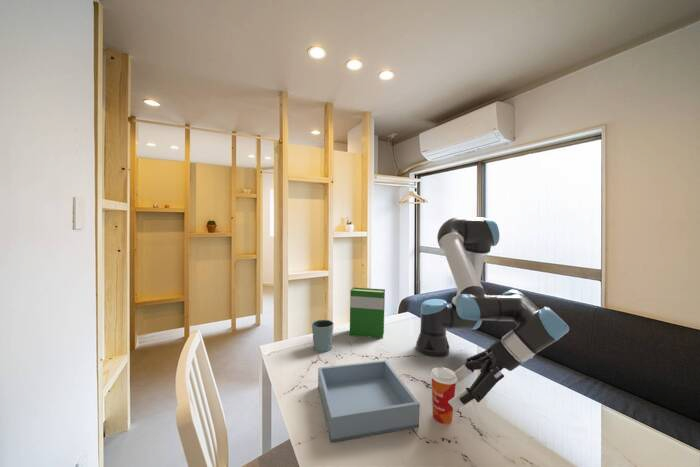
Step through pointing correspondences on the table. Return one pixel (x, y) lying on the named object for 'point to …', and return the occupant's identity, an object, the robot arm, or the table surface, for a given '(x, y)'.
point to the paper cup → (443, 394)
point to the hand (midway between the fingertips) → (451, 392)
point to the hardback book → (367, 312)
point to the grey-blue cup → (322, 335)
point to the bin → (365, 401)
